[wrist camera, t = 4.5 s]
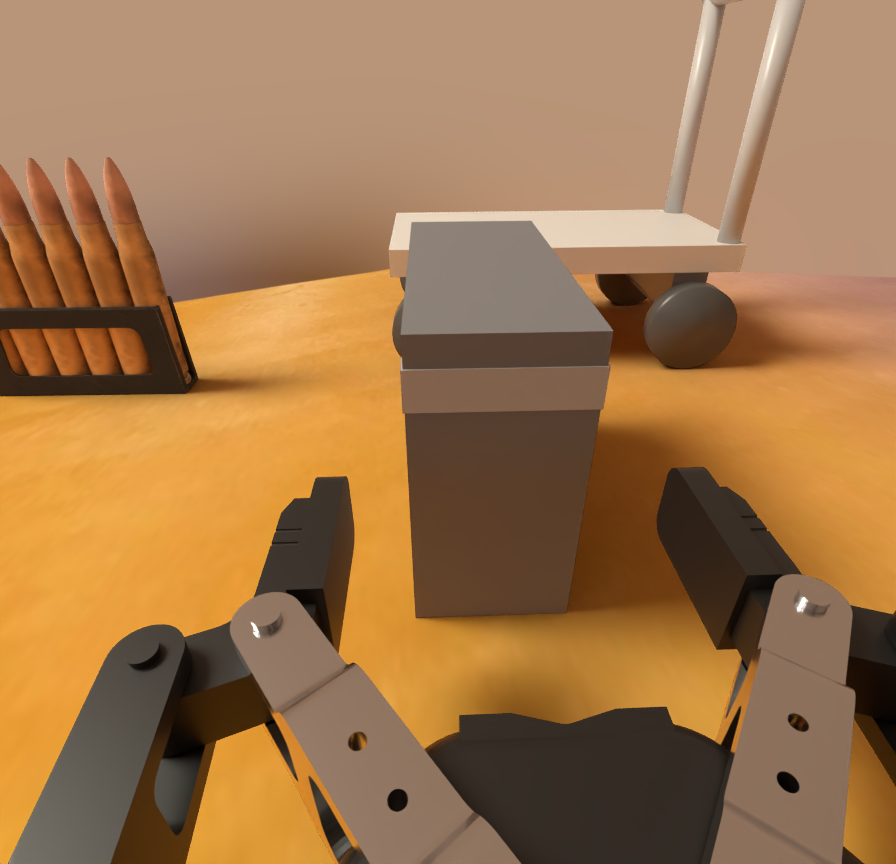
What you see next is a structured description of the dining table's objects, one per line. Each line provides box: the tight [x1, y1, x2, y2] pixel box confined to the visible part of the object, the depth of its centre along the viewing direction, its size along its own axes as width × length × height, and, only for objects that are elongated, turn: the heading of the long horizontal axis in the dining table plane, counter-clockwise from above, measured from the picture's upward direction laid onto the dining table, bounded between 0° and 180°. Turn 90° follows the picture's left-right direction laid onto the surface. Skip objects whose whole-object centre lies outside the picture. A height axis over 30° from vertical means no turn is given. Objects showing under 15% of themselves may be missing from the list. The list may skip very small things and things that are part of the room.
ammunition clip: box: [0, 157, 198, 396], centre depth 29 cm, size 11×2×12 cm, turn 91°
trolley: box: [389, 0, 805, 369], centre depth 33 cm, size 20×12×20 cm, turn 92°
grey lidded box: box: [400, 221, 614, 618], centre depth 21 cm, size 5×12×10 cm, turn 2°
